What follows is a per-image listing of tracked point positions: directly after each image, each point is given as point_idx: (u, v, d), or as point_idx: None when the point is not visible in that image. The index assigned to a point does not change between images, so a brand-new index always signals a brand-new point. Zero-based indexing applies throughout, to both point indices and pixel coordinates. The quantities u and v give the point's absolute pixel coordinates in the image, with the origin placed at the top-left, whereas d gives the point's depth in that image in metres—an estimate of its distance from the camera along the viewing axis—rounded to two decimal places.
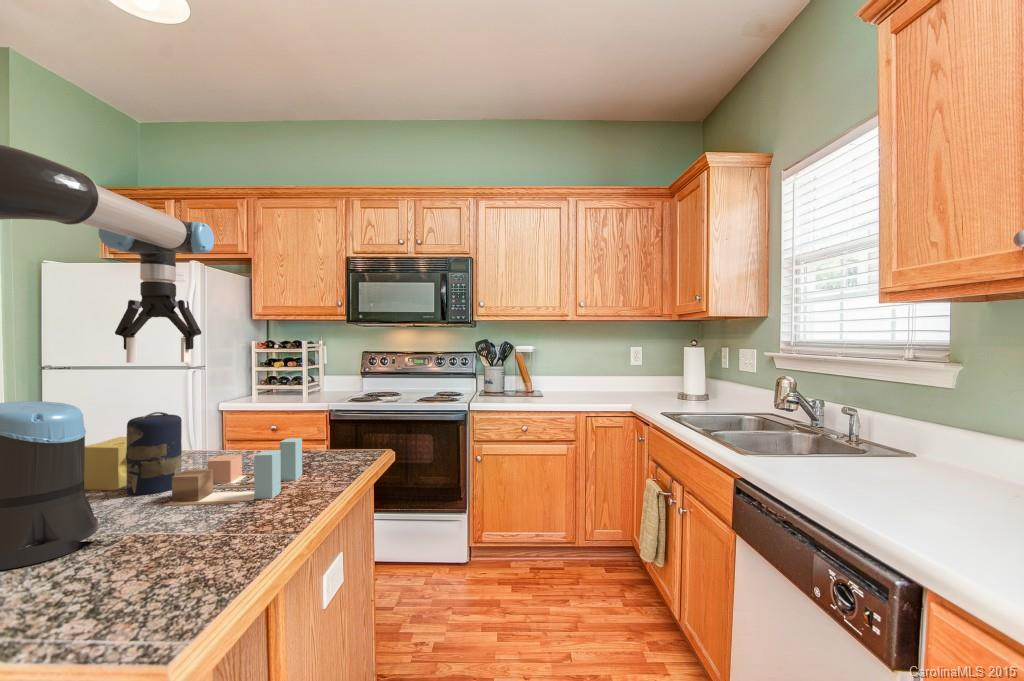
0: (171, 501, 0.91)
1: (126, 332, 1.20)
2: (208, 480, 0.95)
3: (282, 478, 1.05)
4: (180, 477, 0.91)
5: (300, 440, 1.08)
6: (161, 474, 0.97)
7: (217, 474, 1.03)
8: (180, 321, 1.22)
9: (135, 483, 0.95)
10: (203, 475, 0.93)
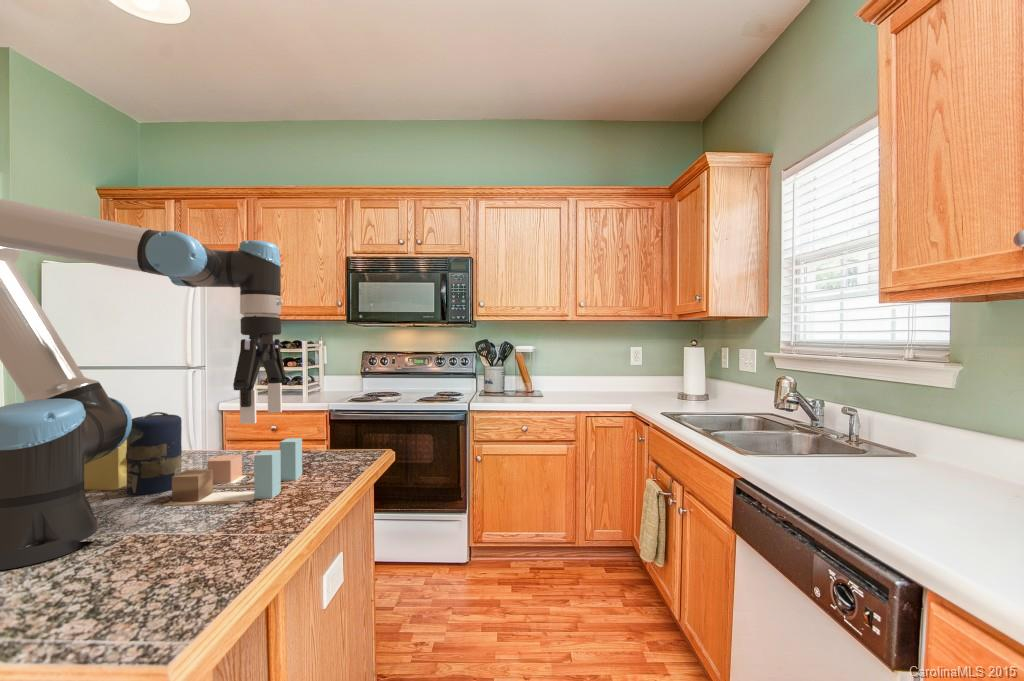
0: (171, 501, 0.91)
1: None
2: (208, 480, 0.95)
3: (282, 478, 1.05)
4: (180, 477, 0.91)
5: (300, 440, 1.08)
6: (161, 474, 0.97)
7: (217, 474, 1.03)
8: None
9: (135, 483, 0.95)
10: (203, 475, 0.93)
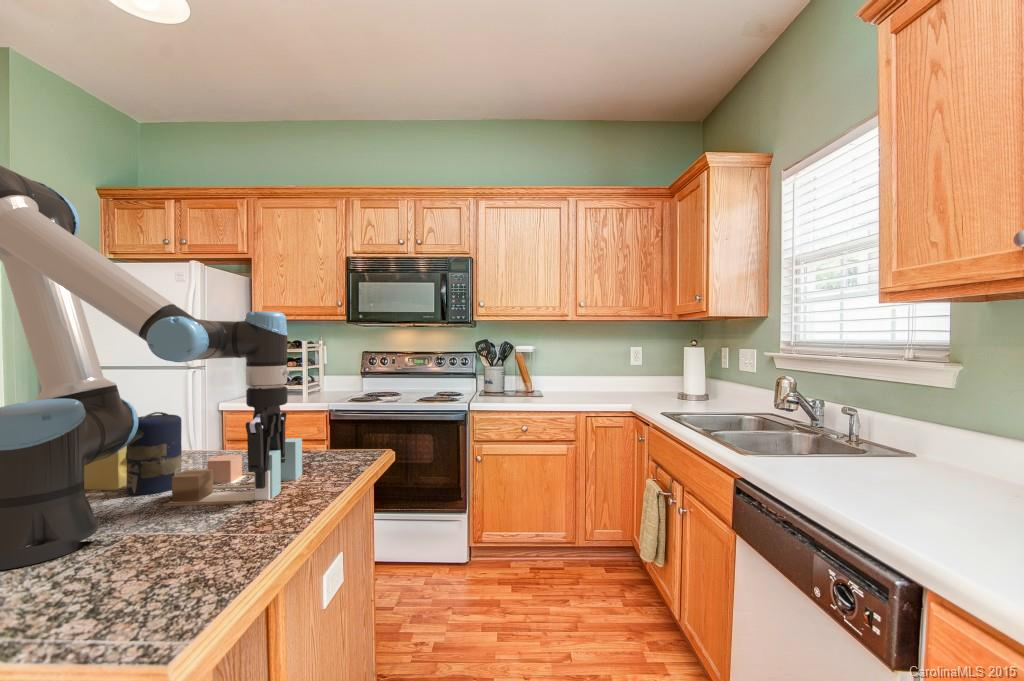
0: (171, 501, 0.91)
1: None
2: (208, 480, 0.95)
3: (282, 478, 1.05)
4: (180, 477, 0.91)
5: (300, 440, 1.08)
6: (161, 474, 0.97)
7: (217, 474, 1.03)
8: None
9: (135, 483, 0.95)
10: (203, 475, 0.93)
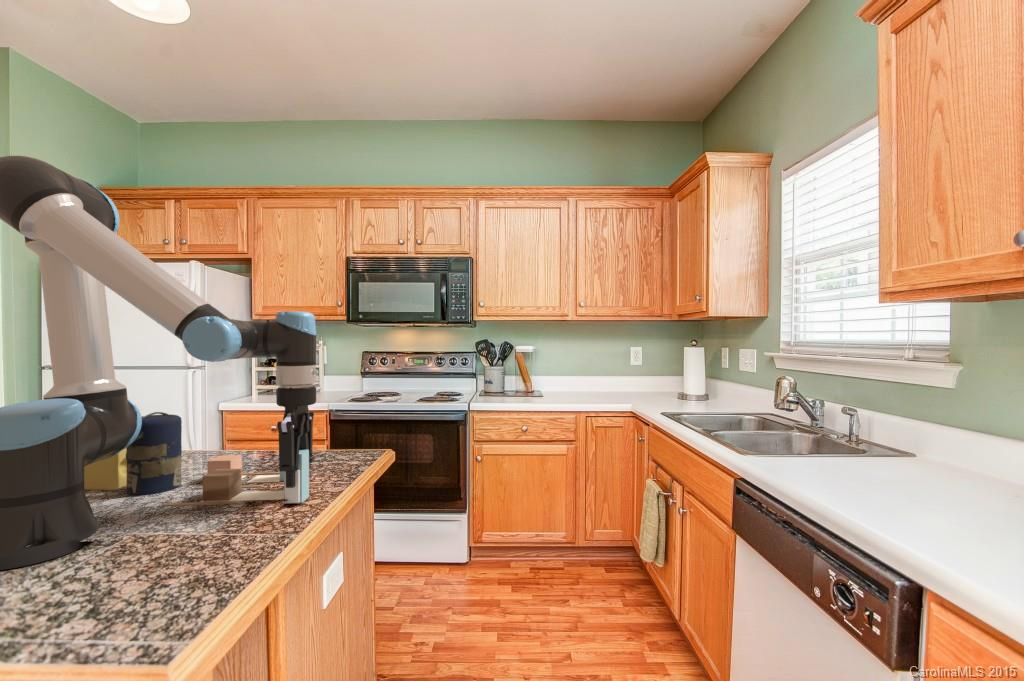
0: (202, 500, 0.92)
1: None
2: (237, 479, 0.95)
3: (282, 478, 1.05)
4: (211, 476, 0.92)
5: None
6: (161, 474, 0.97)
7: None
8: None
9: (135, 483, 0.95)
10: (233, 474, 0.94)
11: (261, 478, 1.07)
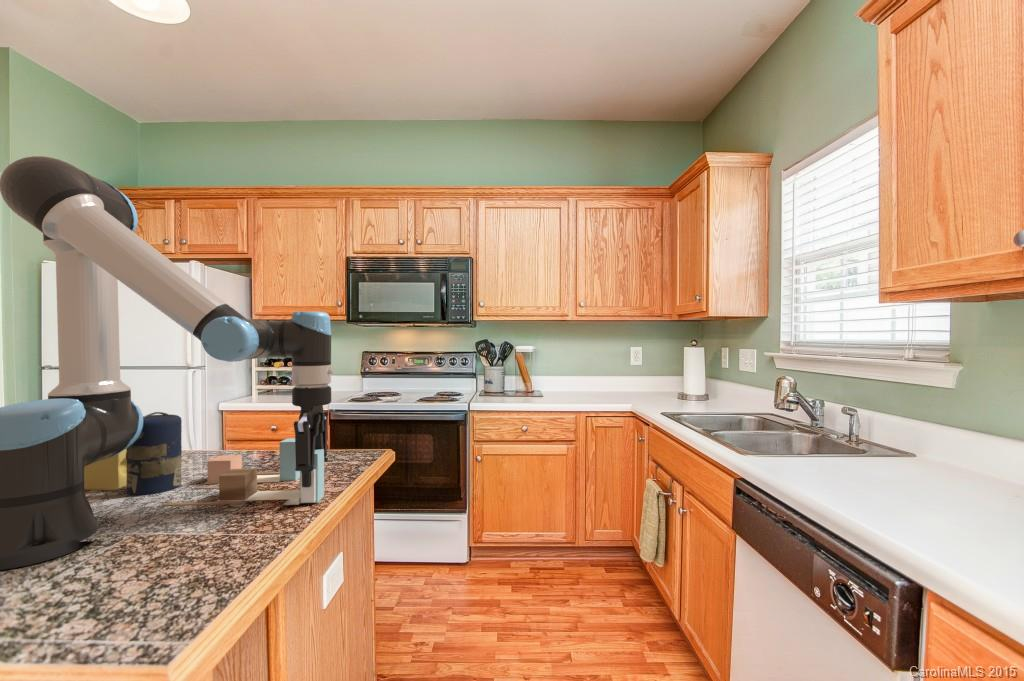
0: (218, 500, 0.92)
1: None
2: (253, 479, 0.95)
3: (282, 478, 1.05)
4: (227, 476, 0.92)
5: None
6: (161, 474, 0.97)
7: (217, 474, 1.03)
8: None
9: (135, 483, 0.95)
10: (249, 474, 0.94)
11: (261, 478, 1.07)
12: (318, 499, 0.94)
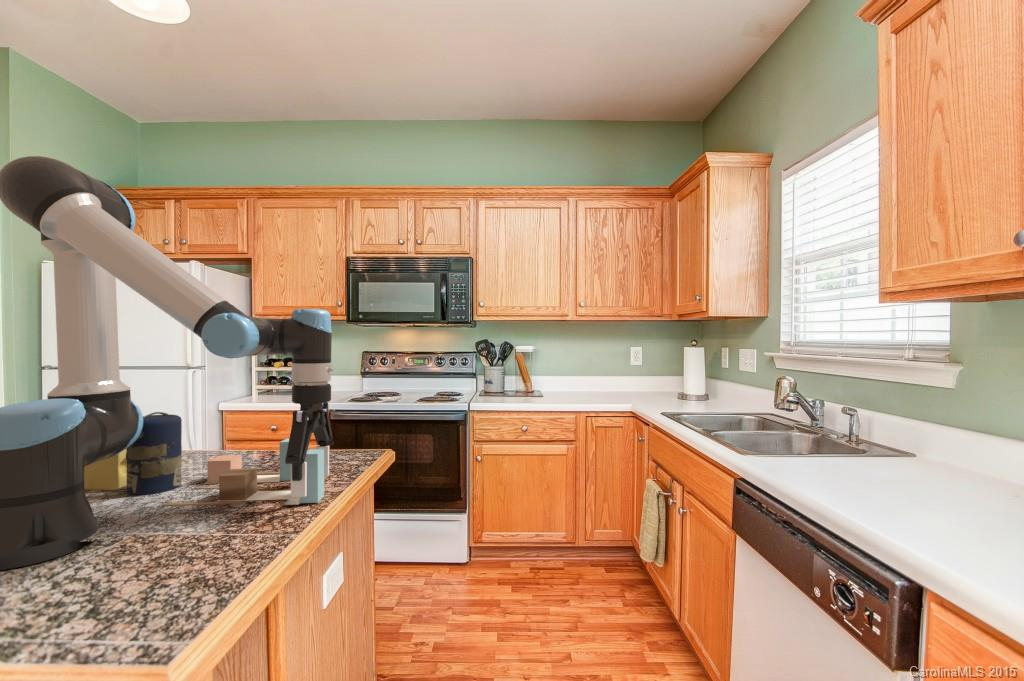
0: (218, 500, 0.92)
1: None
2: (253, 479, 0.95)
3: (282, 478, 1.05)
4: (227, 476, 0.92)
5: None
6: (161, 474, 0.97)
7: (217, 474, 1.03)
8: None
9: (135, 483, 0.95)
10: (249, 474, 0.94)
11: (261, 478, 1.07)
12: (318, 499, 0.94)
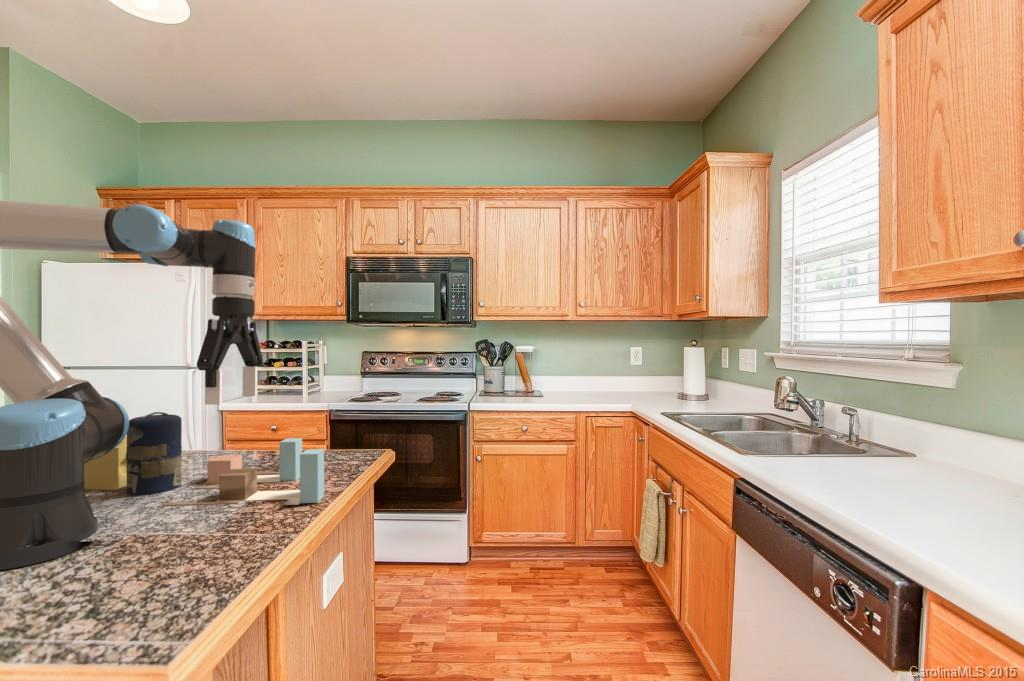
0: (218, 500, 0.92)
1: None
2: (253, 479, 0.95)
3: (282, 478, 1.05)
4: (227, 476, 0.92)
5: (300, 440, 1.08)
6: (161, 474, 0.97)
7: (217, 474, 1.03)
8: None
9: (135, 483, 0.95)
10: (249, 474, 0.94)
11: (261, 478, 1.07)
12: (318, 499, 0.94)
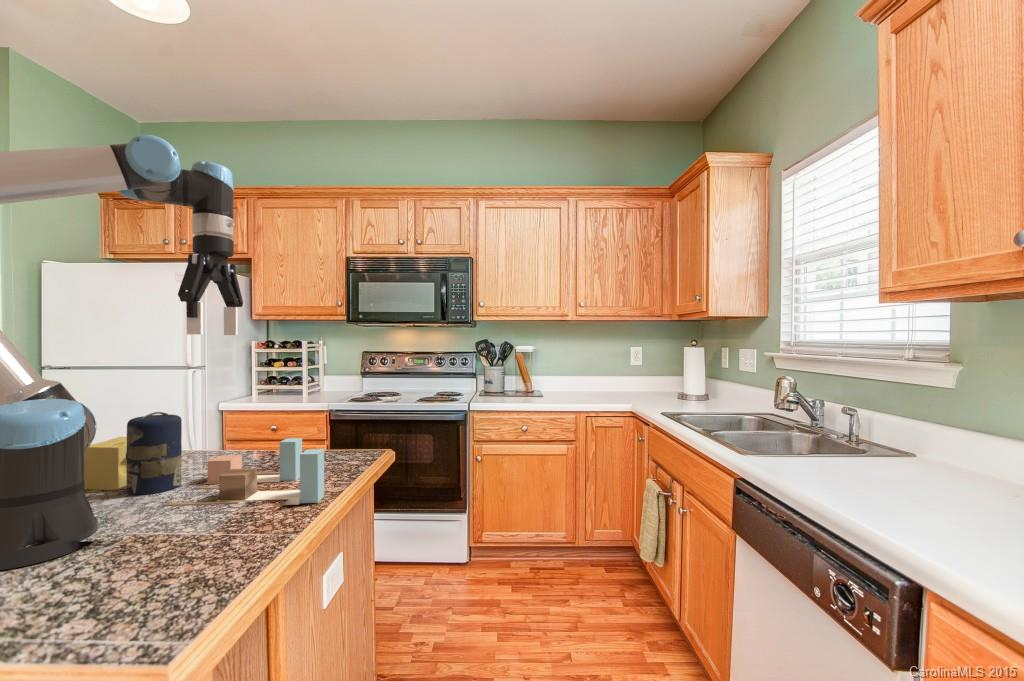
0: (218, 500, 0.92)
1: None
2: (253, 479, 0.95)
3: (282, 478, 1.05)
4: (227, 476, 0.92)
5: (300, 440, 1.08)
6: (161, 474, 0.97)
7: (217, 474, 1.03)
8: None
9: (135, 483, 0.95)
10: (249, 474, 0.94)
11: (261, 478, 1.07)
12: (318, 499, 0.94)
